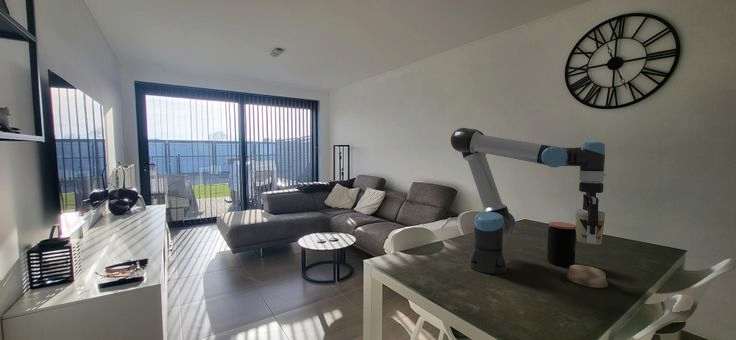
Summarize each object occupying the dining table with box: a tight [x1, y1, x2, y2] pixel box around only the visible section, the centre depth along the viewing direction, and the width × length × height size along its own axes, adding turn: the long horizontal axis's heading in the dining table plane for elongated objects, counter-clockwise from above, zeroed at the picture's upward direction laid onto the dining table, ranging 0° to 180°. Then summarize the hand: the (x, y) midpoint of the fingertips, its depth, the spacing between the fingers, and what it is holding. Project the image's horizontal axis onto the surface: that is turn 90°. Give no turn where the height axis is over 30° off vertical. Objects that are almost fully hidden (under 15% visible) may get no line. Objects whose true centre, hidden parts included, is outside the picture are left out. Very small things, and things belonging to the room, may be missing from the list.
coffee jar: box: [546, 221, 577, 268], centre depth 133 cm, size 11×11×18 cm
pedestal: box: [566, 264, 609, 289], centre depth 115 cm, size 13×13×4 cm
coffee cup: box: [574, 208, 606, 245], centre depth 114 cm, size 9×9×12 cm
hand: (588, 239), depth 114 cm, fingers closed on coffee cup, 9 cm apart
